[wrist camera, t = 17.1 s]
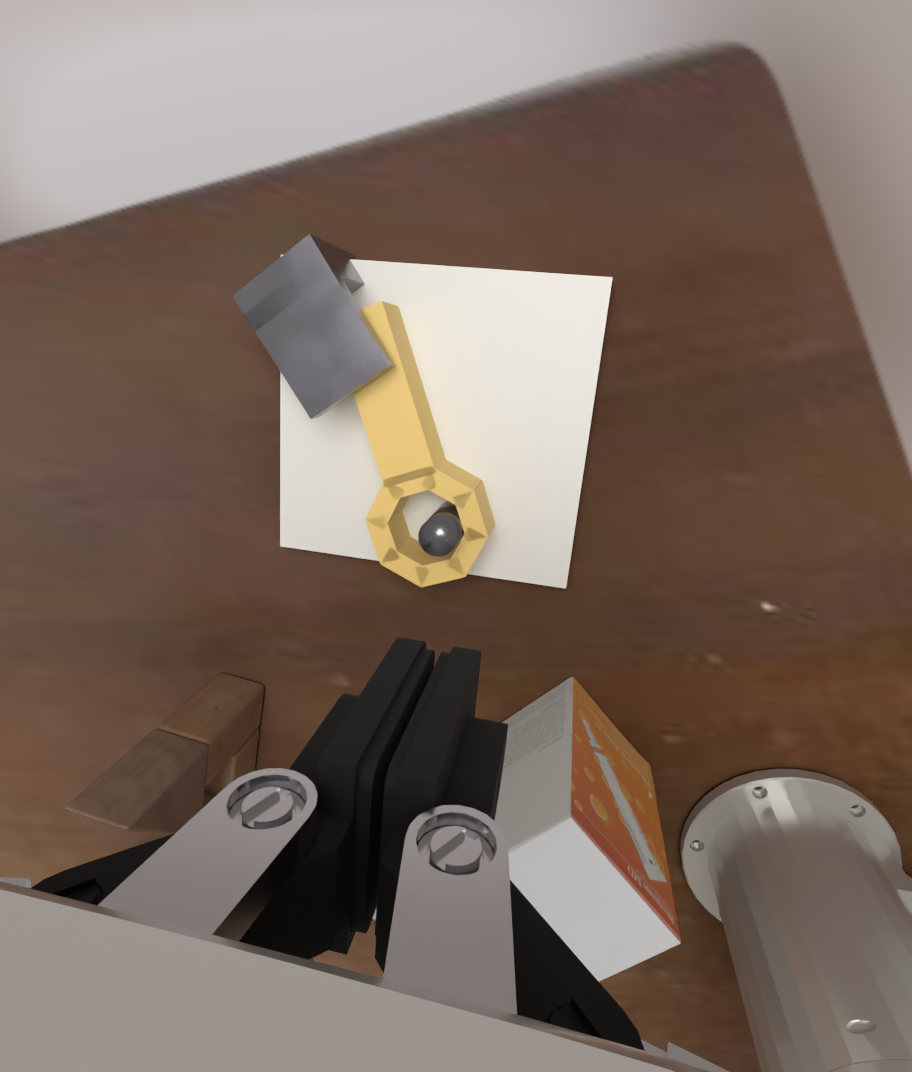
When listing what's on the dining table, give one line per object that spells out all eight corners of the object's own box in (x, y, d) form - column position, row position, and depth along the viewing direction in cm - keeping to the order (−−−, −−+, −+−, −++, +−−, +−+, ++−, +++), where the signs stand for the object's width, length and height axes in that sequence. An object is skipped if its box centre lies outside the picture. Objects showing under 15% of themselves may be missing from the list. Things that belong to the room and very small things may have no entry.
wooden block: (267, 683, 43) (65, 892, 26) (253, 804, 46) (66, 1060, 29) (219, 669, 44) (-9, 866, 27) (209, 790, 47) (0, 1034, 30)
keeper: (285, 305, 36) (232, 296, 30) (352, 254, 34) (309, 234, 29) (350, 410, 37) (310, 419, 31) (418, 364, 35) (389, 365, 30)
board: (611, 280, 32) (612, 277, 31) (566, 581, 37) (566, 588, 36) (290, 258, 35) (280, 254, 34) (288, 540, 40) (280, 546, 39)
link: (504, 552, 36) (497, 569, 33) (404, 576, 38) (390, 594, 35) (427, 295, 33) (413, 289, 30) (322, 333, 34) (299, 331, 32)
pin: (476, 497, 37) (457, 522, 31) (473, 529, 37) (454, 559, 31) (443, 492, 37) (419, 516, 31) (441, 524, 37) (416, 553, 32)
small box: (652, 763, 39) (686, 947, 27) (573, 808, 41) (572, 998, 29) (573, 671, 38) (571, 816, 26) (496, 721, 41) (461, 878, 28)
